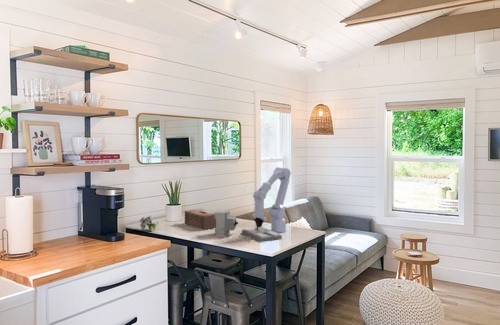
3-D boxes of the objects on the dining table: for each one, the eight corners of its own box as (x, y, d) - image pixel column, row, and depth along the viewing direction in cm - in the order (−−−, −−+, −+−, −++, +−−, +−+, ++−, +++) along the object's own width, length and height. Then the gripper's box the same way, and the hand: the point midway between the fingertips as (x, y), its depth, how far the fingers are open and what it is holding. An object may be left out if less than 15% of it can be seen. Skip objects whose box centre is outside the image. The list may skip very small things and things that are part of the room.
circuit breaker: (235, 236, 250) (236, 213, 249) (214, 234, 253) (215, 212, 252) (238, 233, 257) (238, 211, 256) (218, 232, 260) (218, 210, 259)
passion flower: (142, 238, 263) (136, 222, 266) (157, 233, 269) (150, 218, 273) (146, 232, 254) (139, 216, 258) (161, 226, 261) (154, 211, 264)
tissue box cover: (221, 227, 275) (221, 213, 274) (204, 230, 265) (204, 216, 265) (201, 221, 294) (201, 208, 294) (184, 224, 285) (184, 210, 284)
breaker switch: (261, 231, 254) (262, 226, 254) (264, 233, 251) (264, 227, 251) (257, 232, 252) (258, 226, 252) (260, 233, 249) (260, 228, 249)
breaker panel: (261, 230, 266) (262, 226, 266) (281, 238, 245) (281, 233, 245) (241, 233, 258) (241, 228, 258) (260, 241, 237) (260, 236, 237)
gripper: (248, 207, 258) (248, 227, 258) (259, 211, 245) (259, 232, 246) (257, 206, 261) (257, 226, 262) (269, 210, 249) (268, 231, 249)
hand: (259, 229), depth 254 cm, fingers closed
